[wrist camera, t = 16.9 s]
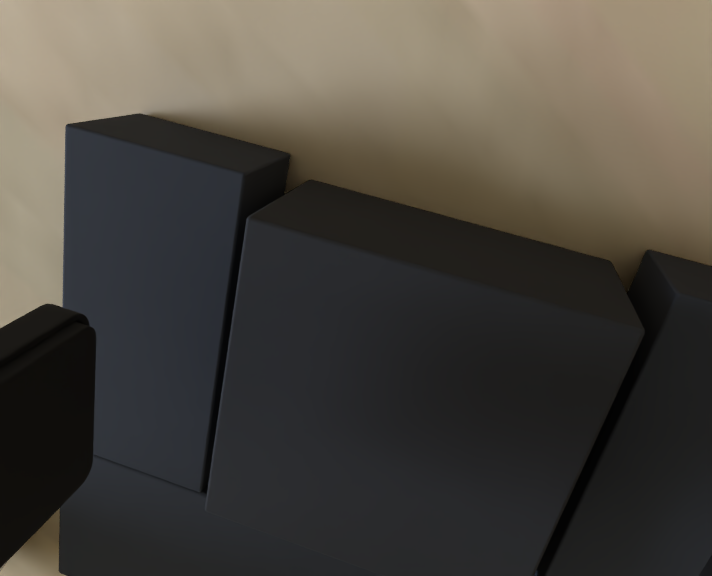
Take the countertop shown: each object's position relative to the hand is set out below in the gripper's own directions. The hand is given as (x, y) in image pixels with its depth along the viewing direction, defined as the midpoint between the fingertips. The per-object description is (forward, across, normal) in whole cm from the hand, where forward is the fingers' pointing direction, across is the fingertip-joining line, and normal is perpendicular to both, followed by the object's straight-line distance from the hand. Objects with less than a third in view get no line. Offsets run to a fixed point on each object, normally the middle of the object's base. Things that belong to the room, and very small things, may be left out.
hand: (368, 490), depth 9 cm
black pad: (+6, 0, +1) cm, 6 cm away
